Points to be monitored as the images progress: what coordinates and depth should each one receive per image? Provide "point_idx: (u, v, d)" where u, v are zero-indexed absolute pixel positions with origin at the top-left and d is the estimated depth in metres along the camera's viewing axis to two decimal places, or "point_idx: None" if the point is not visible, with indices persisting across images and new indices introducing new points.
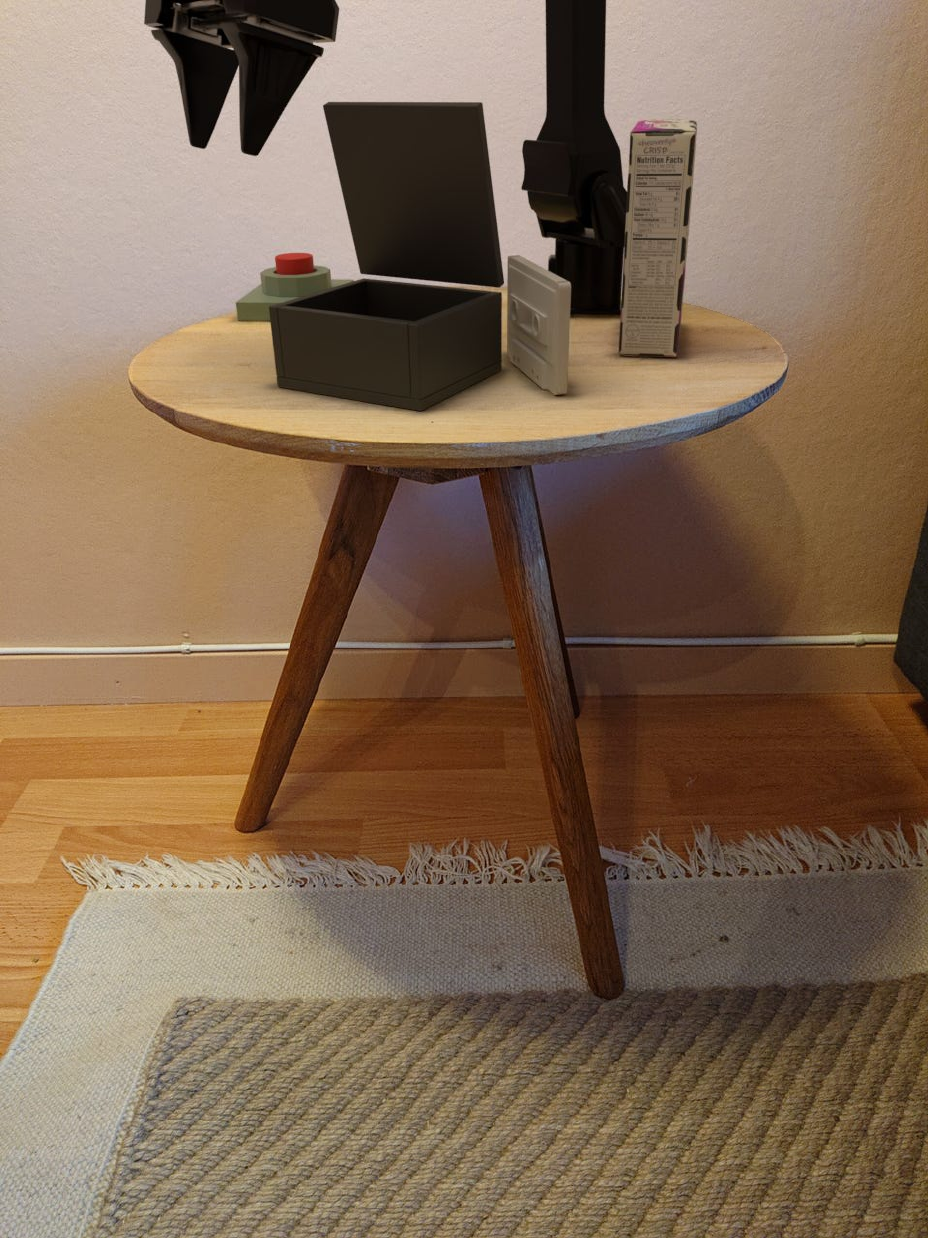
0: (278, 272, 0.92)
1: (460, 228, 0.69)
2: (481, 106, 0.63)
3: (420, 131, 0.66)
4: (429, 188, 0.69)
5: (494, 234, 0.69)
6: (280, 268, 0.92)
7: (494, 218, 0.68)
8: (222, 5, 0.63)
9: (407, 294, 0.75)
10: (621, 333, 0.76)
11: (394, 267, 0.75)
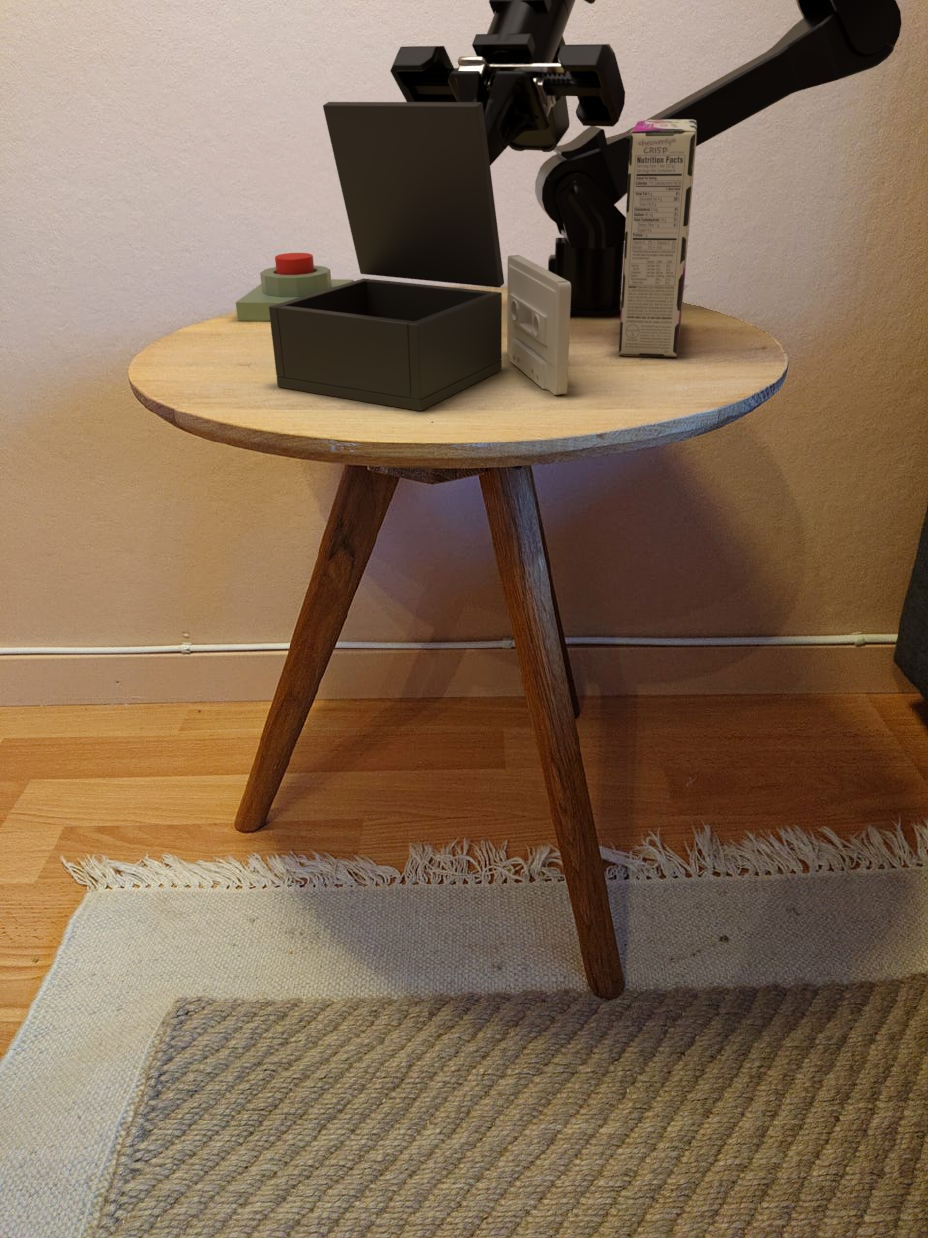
0: (278, 272, 0.92)
1: (460, 228, 0.69)
2: (481, 106, 0.63)
3: (420, 131, 0.66)
4: (429, 188, 0.69)
5: (494, 234, 0.69)
6: (280, 268, 0.92)
7: (494, 218, 0.68)
8: (453, 94, 0.81)
9: (407, 294, 0.75)
10: (621, 333, 0.76)
11: (394, 267, 0.75)
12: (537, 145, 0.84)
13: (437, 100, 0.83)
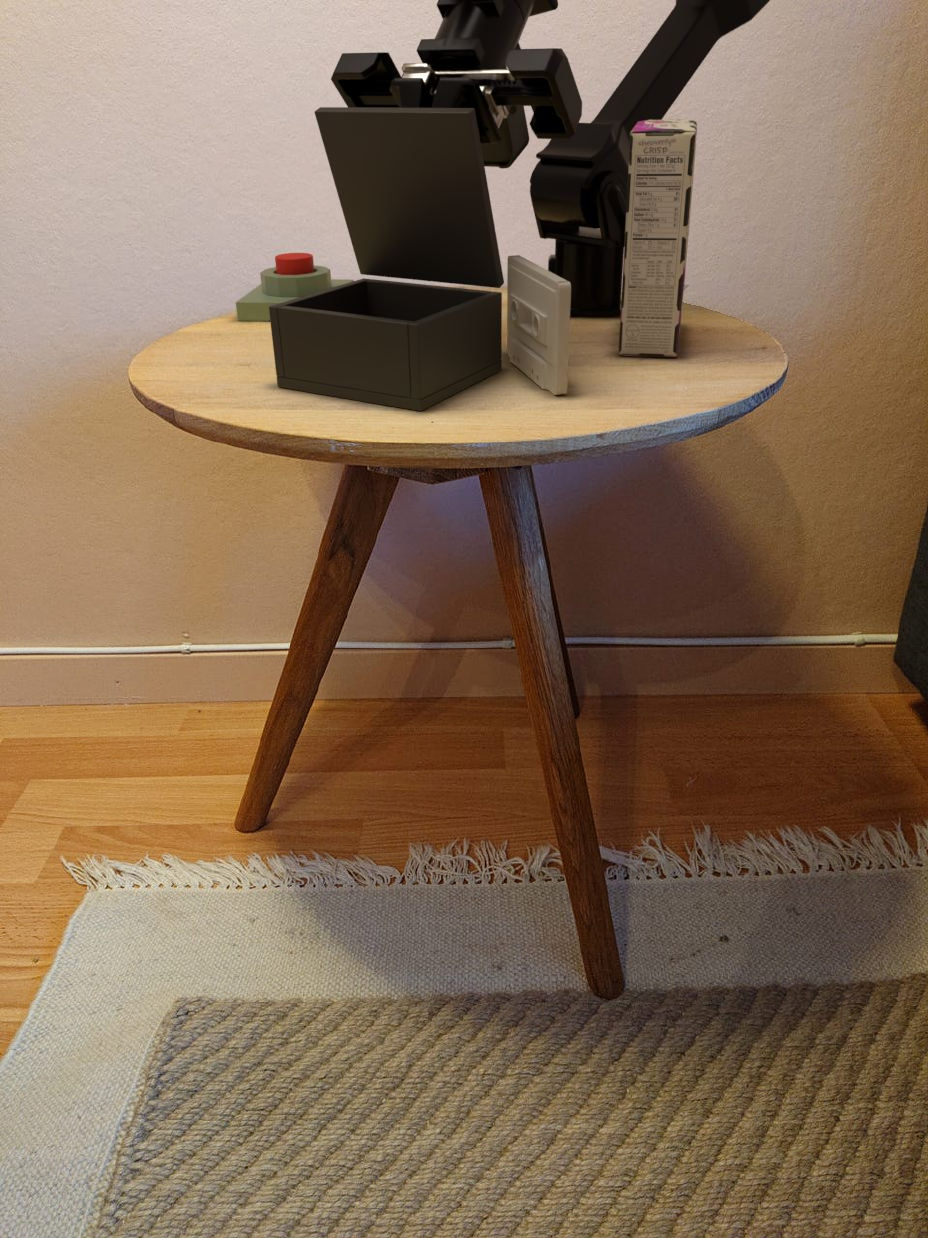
0: (278, 272, 0.92)
1: (458, 231, 0.69)
2: (473, 112, 0.63)
3: (413, 137, 0.65)
4: (425, 193, 0.68)
5: (492, 237, 0.68)
6: (280, 268, 0.92)
7: (491, 221, 0.68)
8: None
9: (407, 294, 0.75)
10: (621, 333, 0.76)
11: (394, 268, 0.75)
12: (493, 161, 0.77)
13: None
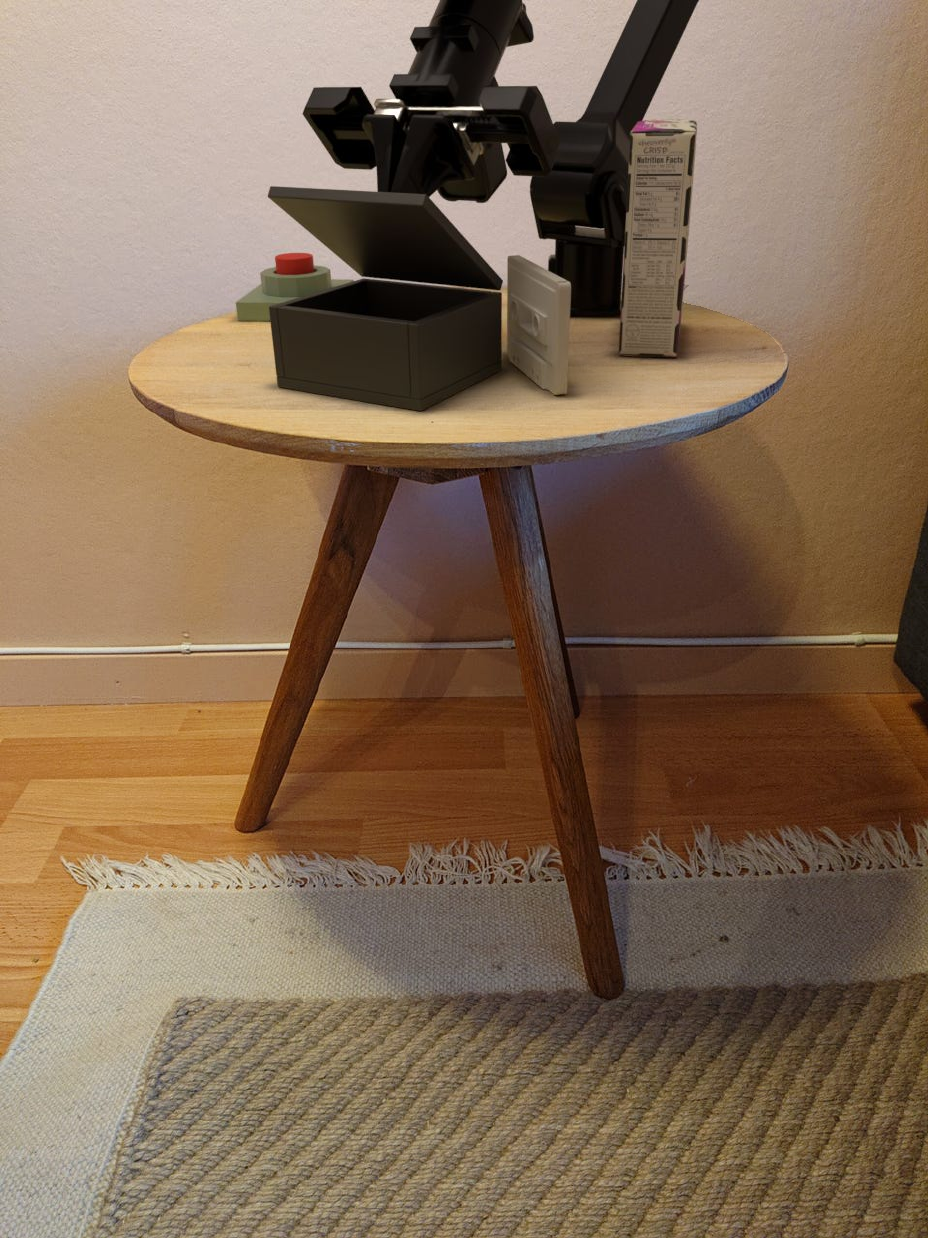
0: (278, 272, 0.92)
1: (444, 262, 0.69)
2: (427, 199, 0.60)
3: (374, 215, 0.64)
4: (402, 242, 0.67)
5: (480, 264, 0.68)
6: (280, 268, 0.92)
7: (474, 254, 0.67)
8: None
9: (407, 294, 0.75)
10: (621, 333, 0.76)
11: (392, 275, 0.75)
12: (470, 196, 0.76)
13: (360, 146, 0.75)
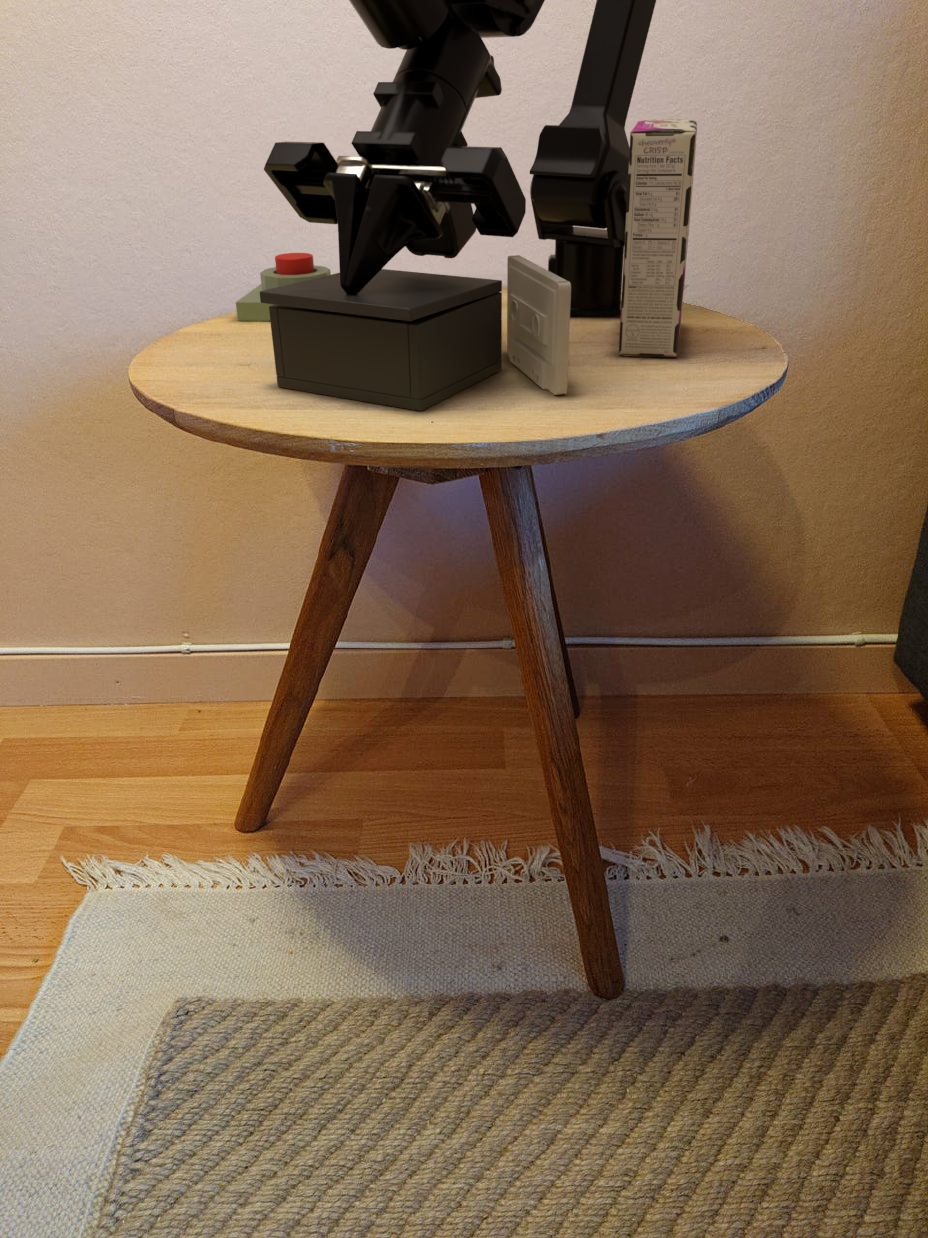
0: (278, 272, 0.92)
1: None
2: (412, 311, 0.62)
3: None
4: None
5: (476, 296, 0.68)
6: (280, 268, 0.92)
7: (469, 295, 0.68)
8: None
9: None
10: (621, 333, 0.76)
11: None
12: (439, 251, 0.74)
13: (325, 199, 0.73)
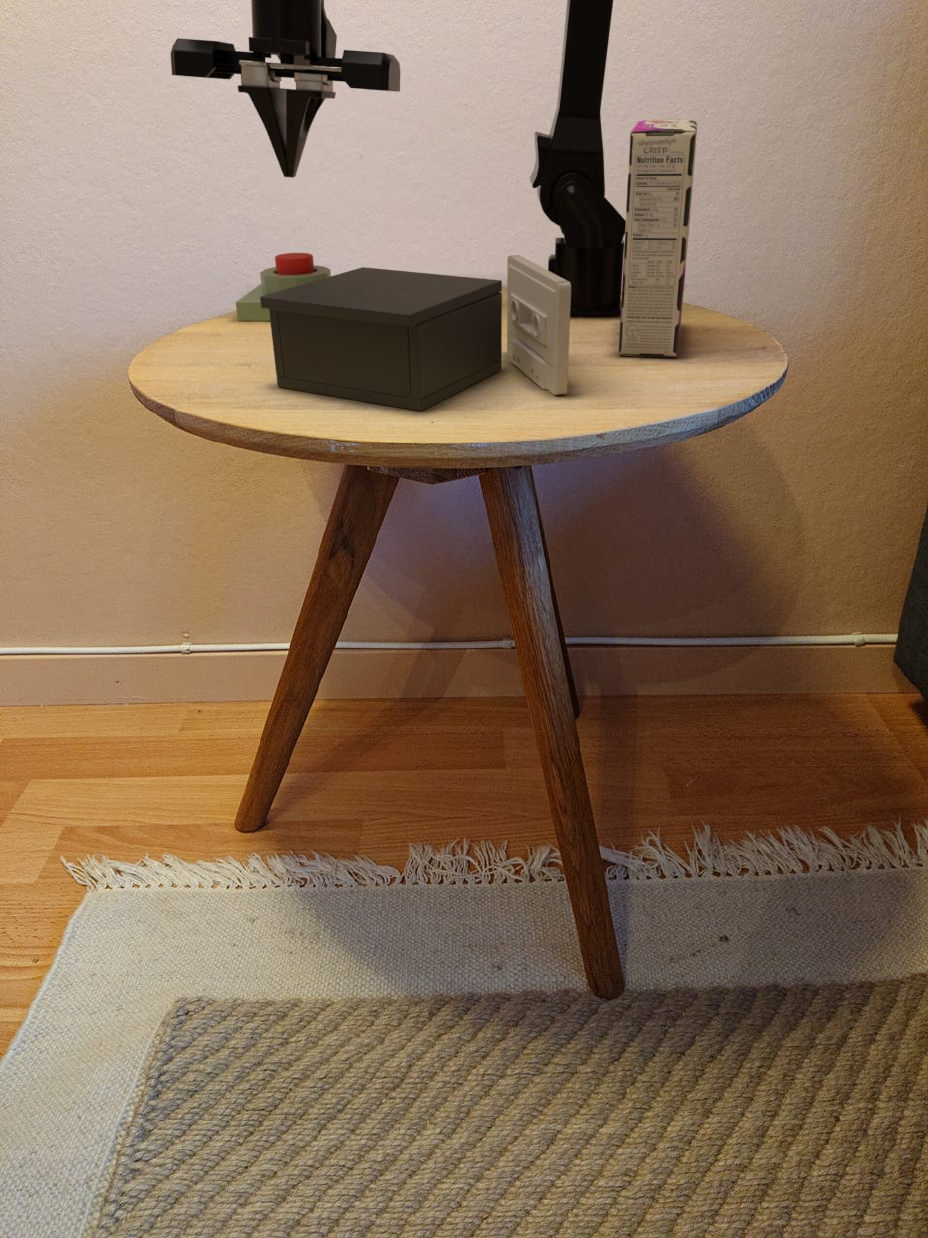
0: (278, 272, 0.92)
1: None
2: (412, 317, 0.62)
3: None
4: None
5: (476, 297, 0.69)
6: (280, 268, 0.92)
7: (469, 297, 0.68)
8: None
9: None
10: (621, 333, 0.76)
11: None
12: None
13: None
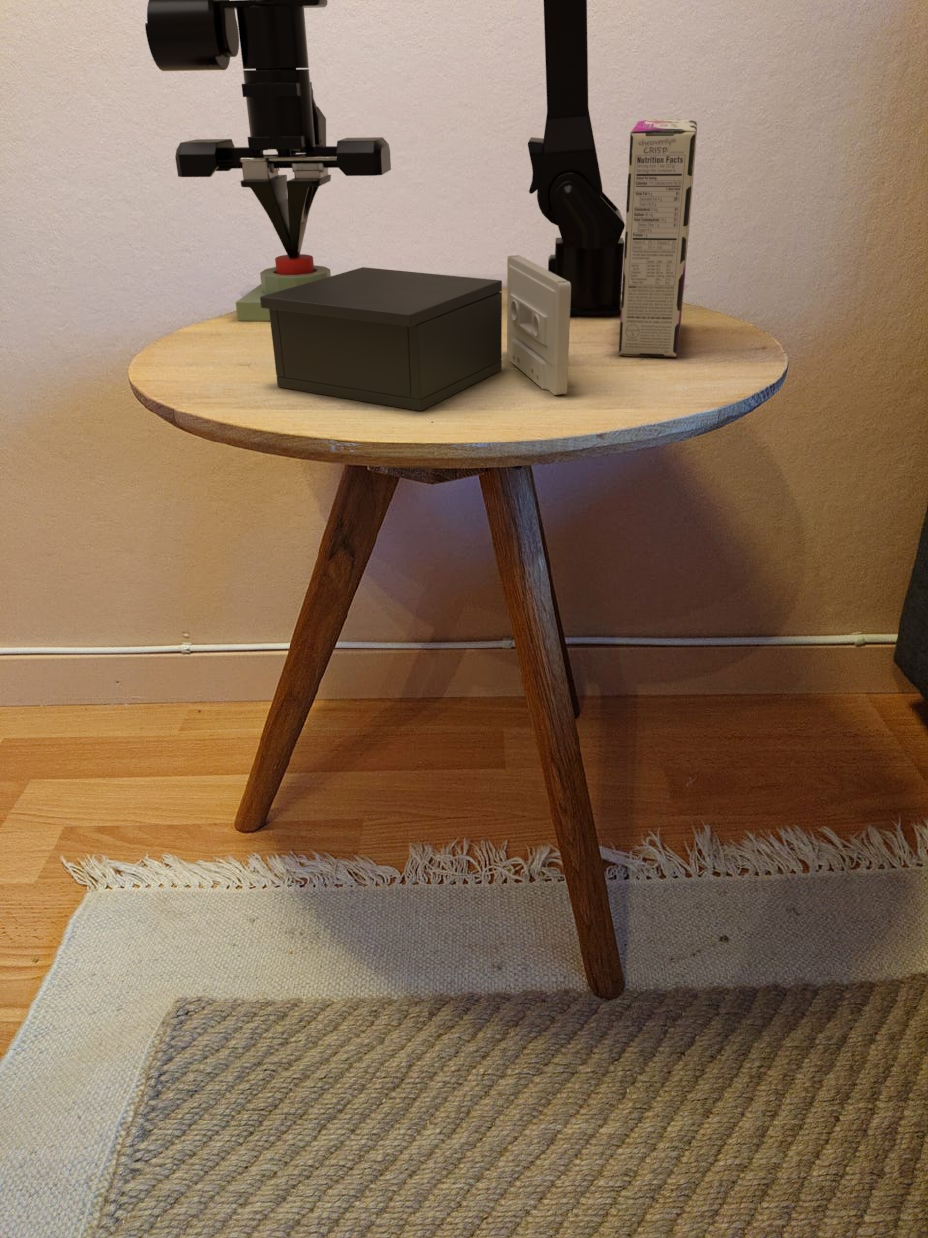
0: (278, 273, 0.92)
1: None
2: (412, 317, 0.62)
3: None
4: None
5: (476, 297, 0.69)
6: (280, 269, 0.92)
7: (469, 297, 0.68)
8: None
9: None
10: (621, 333, 0.76)
11: None
12: None
13: None
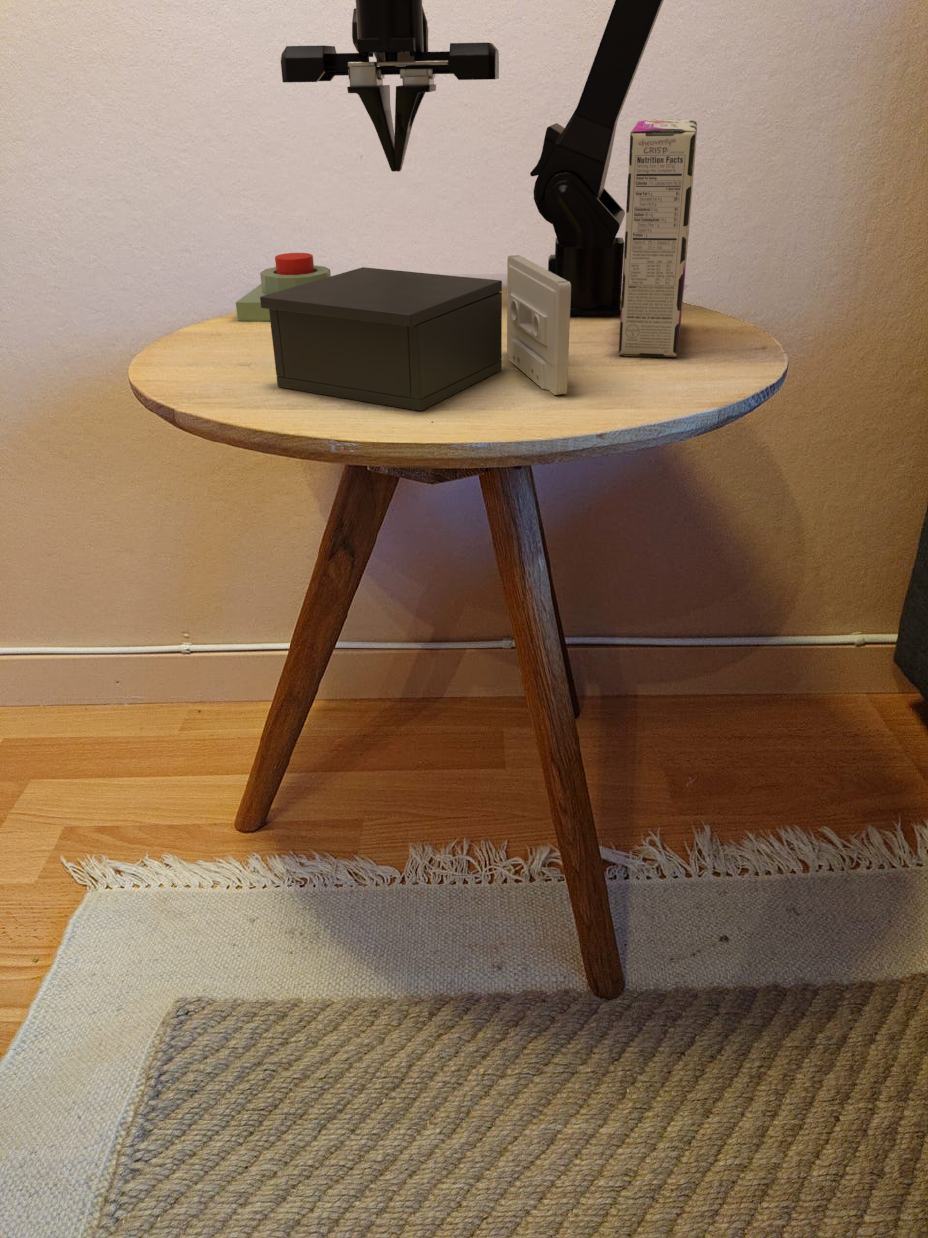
0: (278, 272, 0.92)
1: None
2: (412, 317, 0.62)
3: None
4: None
5: (476, 297, 0.69)
6: (280, 268, 0.92)
7: (469, 297, 0.68)
8: None
9: None
10: (621, 333, 0.76)
11: None
12: None
13: None
